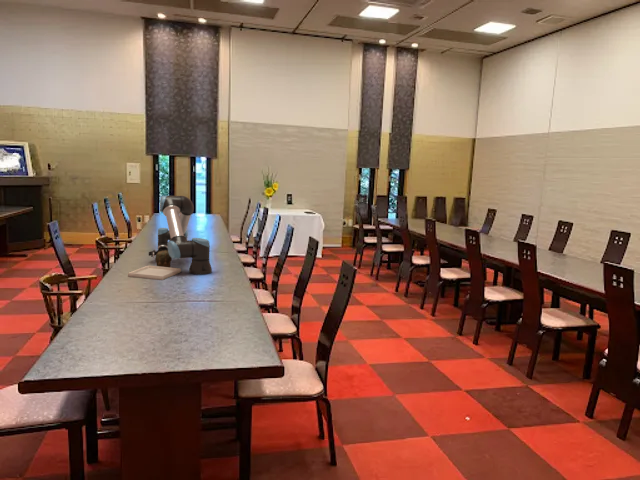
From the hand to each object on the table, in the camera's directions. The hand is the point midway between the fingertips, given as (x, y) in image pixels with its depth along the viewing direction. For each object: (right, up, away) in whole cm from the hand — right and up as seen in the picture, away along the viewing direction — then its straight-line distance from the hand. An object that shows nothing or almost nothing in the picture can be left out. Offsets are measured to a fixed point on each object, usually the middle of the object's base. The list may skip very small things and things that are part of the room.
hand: (163, 255), depth 339 cm
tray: (+4, -11, -28) cm, 31 cm away
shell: (+3, -8, -8) cm, 12 cm away
